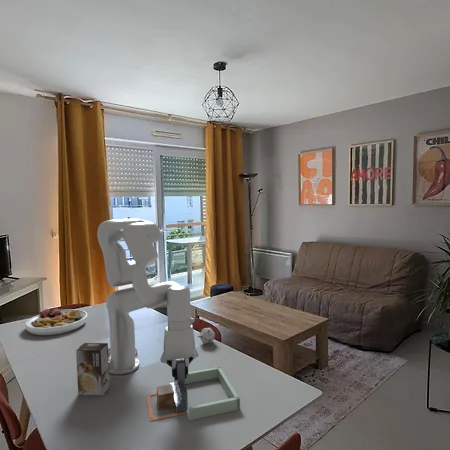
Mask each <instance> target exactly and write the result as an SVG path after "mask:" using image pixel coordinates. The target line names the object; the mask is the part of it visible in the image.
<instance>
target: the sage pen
mask: <svg viewBox="0 0 450 450" xmlns="http://www.w3.org/2000/svg"><path fill="white" fill-rule="evenodd" d="M221 367H222V366H217V367H211V368H205V369H200V370H199V369H198V370H195V371H194V370H193V371H188V375H187V379H185V385H186V384H192V383H196V382H197V383H198V382H202V381H208V380H213V379H214V380H215V379H218V381H219V382H220V384H221V385H222V387H223V389H224V391H225V392H226V394H227V396H228V397H229V398H226V399H221V400H216V401H211V402H205V403H202V404H196V405H192V406H188V417H189V418H188V419H189V421H193V420H198V419H202V418H203V419H204V418H207V417H212V416H215V415H221V414H225V413H229V412H234V411H238V410H241V398H240V397H239V394H238V393H237V392H236V390H235V389H234V387H233V385H232V383H231V382H230V381H229V378H228V377H227V376H226V374H225V372H224V371H223V369H222V368H221Z"/></svg>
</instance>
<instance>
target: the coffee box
mask: <svg viewBox="0 0 450 450" xmlns="http://www.w3.org/2000/svg"><path fill="white" fill-rule="evenodd" d="M75 354H76V356H75V357H76V358H75V359H76V375H77V376H76V377H77V380H76V381H77V395H78V396H104V395H105V394H106V392H107V391H108V389H109V388H110V373H109V362H108V358H109V344H108V342H84V343H82V344H81V345H80V346H79V347H78V348H77V349H76V351H75Z"/></svg>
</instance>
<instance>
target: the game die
mask: <svg viewBox="0 0 450 450" xmlns="http://www.w3.org/2000/svg"><path fill="white" fill-rule="evenodd" d="M200 329H201V331H200V333H199V335H198V336H197V338H199V339H200V341H201V343H202V346H205V345H206V344H207V345H208V344H213V345H214V340H215V338H216V336H217V335H218V334H217V333H215V331H214V330H213V328H212V325H211V326H210V327H201V328H200Z"/></svg>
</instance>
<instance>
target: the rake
mask: <svg viewBox="0 0 450 450" xmlns="http://www.w3.org/2000/svg"><path fill="white" fill-rule="evenodd" d="M176 368H177V380H176V381H175V379H174V378H173V382H169V384H172V387H173V390H174V409H175V411H176V412H175V413H178V412H183V411H186V412H189V406H188V390H187V387H186V384H185V362H184V358H182V359H176Z"/></svg>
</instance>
